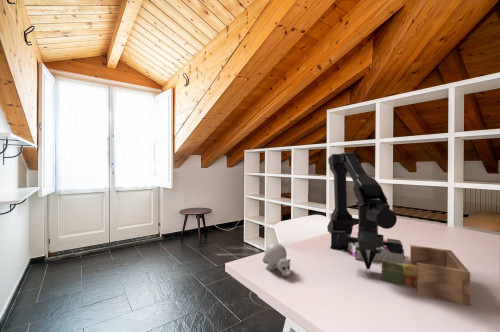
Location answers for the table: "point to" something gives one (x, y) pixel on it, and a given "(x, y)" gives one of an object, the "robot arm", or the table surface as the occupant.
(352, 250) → the candy bar box
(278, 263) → the chubby cartoon animal
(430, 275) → the book slot
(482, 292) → the table surface
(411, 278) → the carton
